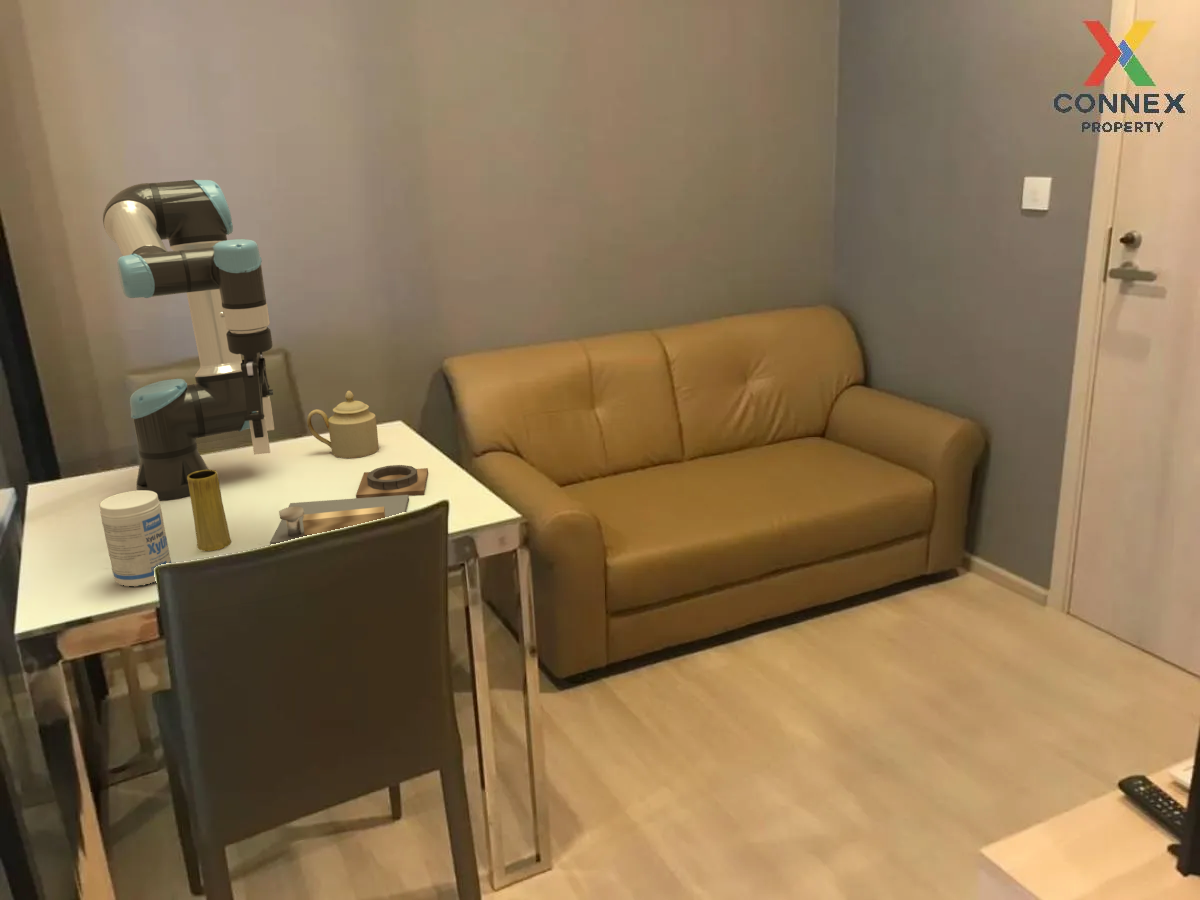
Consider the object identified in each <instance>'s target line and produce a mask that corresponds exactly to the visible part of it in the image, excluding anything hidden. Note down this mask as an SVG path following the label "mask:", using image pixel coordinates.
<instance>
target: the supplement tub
mask: <svg viewBox="0 0 1200 900" xmlns="http://www.w3.org/2000/svg"><path fill="white" fill-rule="evenodd" d="M99 508H100V518H101V522H102V527H103V531H104V537H105V541H106V545H107V551H108V555H109V561H110V565H111V570H112V574H113V578H114V581H115V582H116V583H117V584H118V585H120V586H123V585H124V586H123V587H129V586H134V587H139V586H138V585H143V586H145V585H144V584H148V585H151V584H153V583H152V582H154V583H156V582H155V577H154V568H155V567H156V566H158V565H161V564H166V563H171V564H172V559H171V553H170V550H169V549H170V548H169V544H168V537H167V533H166V527H165V523H164V517H163V512H162V506H161V500H159V499H158V495H157V493H155V492H153V491H147V490H138V491H137V490H129V491H125V492H120V493H116V494H113V495H111V496H108V497H106V498H104V499H103V500H102V501H101V502H100V503H99ZM150 583H151V584H150Z"/></svg>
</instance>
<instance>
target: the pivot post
mask: <svg viewBox="0 0 1200 900" xmlns="http://www.w3.org/2000/svg"><path fill="white" fill-rule="evenodd" d="M286 524H287V531H288V536H290V537H296V536H299V535H301V528H300V521H299V518H298V519H295V520H286Z"/></svg>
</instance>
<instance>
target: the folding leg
mask: <svg viewBox="0 0 1200 900" xmlns="http://www.w3.org/2000/svg"><path fill="white" fill-rule="evenodd" d="M278 514H279V515H278V516H279V519H281V520H295V519H298V518H301V517H302V516H303V515H304V510H303V508H302V507H297V506H294V507H289V506H288V507H284V508H282V509H280V510H279V511H278ZM381 518H385V509H384V507H375V508H365V509H355V510H345V511H335V512H325V513H315V514H306V515H304V517H303V527H304V534H305V535H312V534H317V533H322V532H327V531H331V530H335V529H340V528H344V527H348V526H353V525H357V524H361V523H365V522H369V521H373V520H377V519H381Z"/></svg>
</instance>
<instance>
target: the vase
mask: <svg viewBox="0 0 1200 900" xmlns="http://www.w3.org/2000/svg"><path fill="white" fill-rule="evenodd" d="M218 475H219V474H218V471H217V470H216V469H209V470H200V471H196V472H193V473H190V474H189V475H188V476H187V480H188V486H189V491H190V495H189V499H190V503H191V508H192V516H193V517H192V518H193V523H194V530H195V531H194V533H195V537H196V548H197V550H199V551H202V552H215V551H220V550H222V549H225V548H227V547H228V546H230V545H231V544H232V539H231V536H230V532H229V526H228V521H227V517H226V513H225V508H224V504H223V498H222V492H221V487H220V482H219V481H220V480H219V476H218Z"/></svg>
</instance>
